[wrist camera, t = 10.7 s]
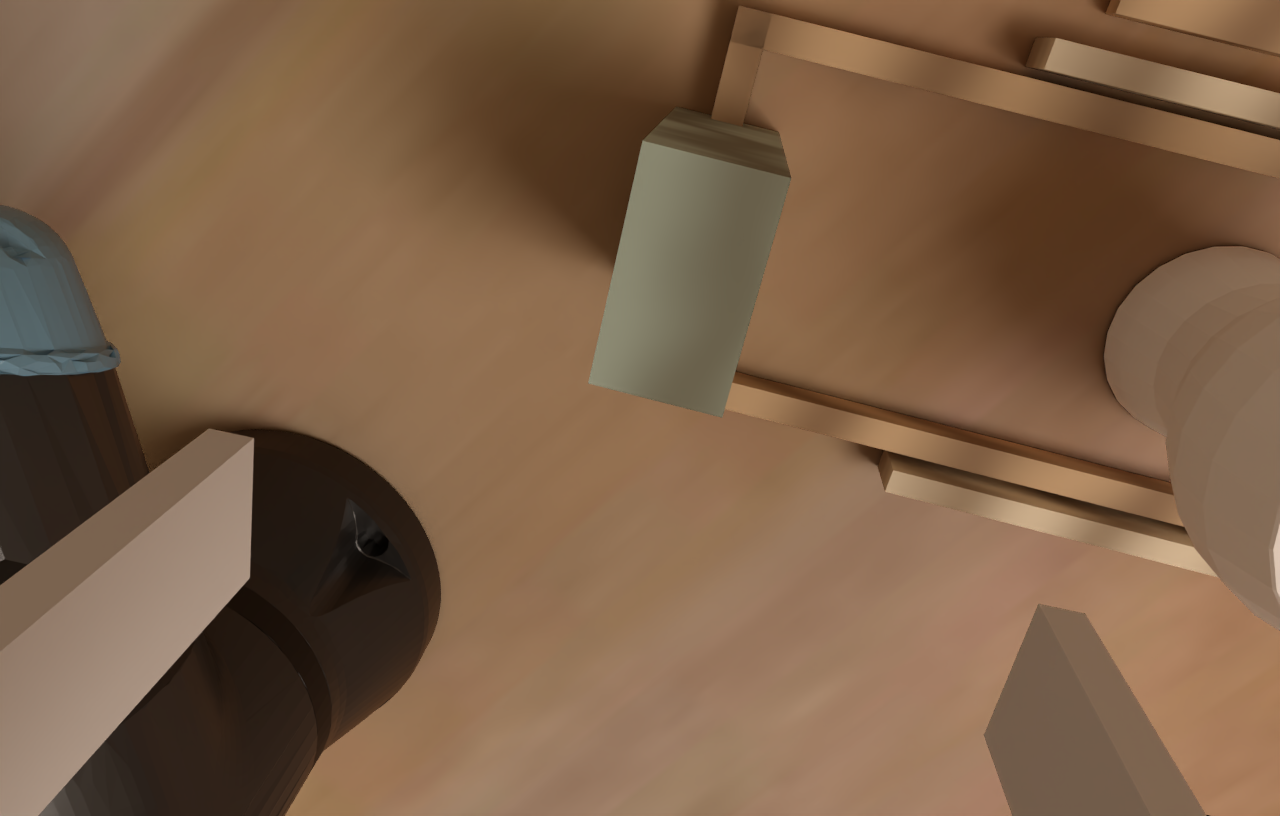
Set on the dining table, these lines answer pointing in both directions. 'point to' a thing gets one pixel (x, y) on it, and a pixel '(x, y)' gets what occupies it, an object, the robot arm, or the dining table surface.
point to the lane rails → (1188, 3)
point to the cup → (1212, 404)
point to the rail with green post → (744, 232)
